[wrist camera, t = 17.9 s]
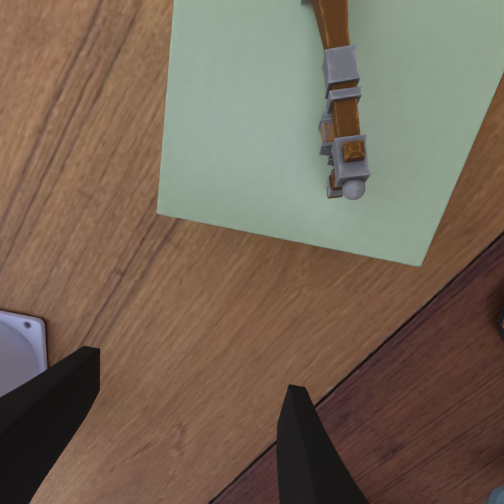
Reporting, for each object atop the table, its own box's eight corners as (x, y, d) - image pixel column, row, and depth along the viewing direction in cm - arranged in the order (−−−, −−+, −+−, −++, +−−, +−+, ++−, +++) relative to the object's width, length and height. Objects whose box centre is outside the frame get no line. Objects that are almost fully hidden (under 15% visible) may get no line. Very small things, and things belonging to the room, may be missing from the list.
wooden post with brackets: (315, 220, 14) (330, 197, 9) (296, 44, 14) (301, -59, 10) (357, 215, 14) (393, 189, 9) (336, 37, 14) (361, -71, 10)
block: (179, 197, 19) (155, 214, 15) (209, -87, 14) (186, -165, 10) (391, 240, 19) (421, 267, 15) (492, -27, 14) (570, -81, 11)
